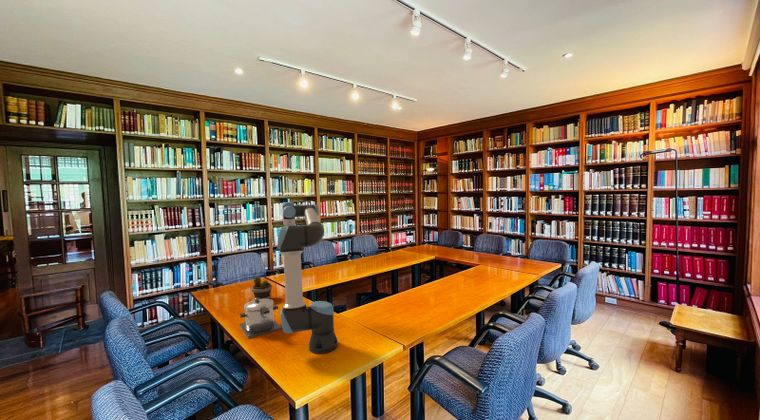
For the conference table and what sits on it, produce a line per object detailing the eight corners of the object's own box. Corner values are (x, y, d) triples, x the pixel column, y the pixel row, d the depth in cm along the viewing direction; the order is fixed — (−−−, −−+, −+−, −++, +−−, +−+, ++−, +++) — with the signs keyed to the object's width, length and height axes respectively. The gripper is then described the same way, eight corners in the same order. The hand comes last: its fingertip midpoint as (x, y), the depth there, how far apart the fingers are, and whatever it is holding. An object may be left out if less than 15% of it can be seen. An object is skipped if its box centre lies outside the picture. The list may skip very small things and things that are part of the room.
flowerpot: (276, 296, 243) (274, 271, 242) (267, 303, 228) (265, 277, 227) (258, 296, 245) (257, 271, 244) (248, 303, 230) (247, 277, 228)
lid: (281, 309, 179) (281, 304, 179) (251, 317, 170) (251, 311, 169) (268, 299, 199) (268, 293, 199) (241, 305, 189) (241, 299, 189)
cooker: (284, 328, 186) (283, 305, 185) (245, 339, 173) (244, 315, 172) (272, 316, 204) (271, 296, 203) (236, 326, 191) (235, 304, 190)
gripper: (296, 223, 213) (297, 257, 214) (277, 225, 205) (279, 260, 207) (300, 224, 207) (302, 259, 208) (281, 226, 199) (283, 262, 201)
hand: (290, 260), depth 207 cm, fingers closed
